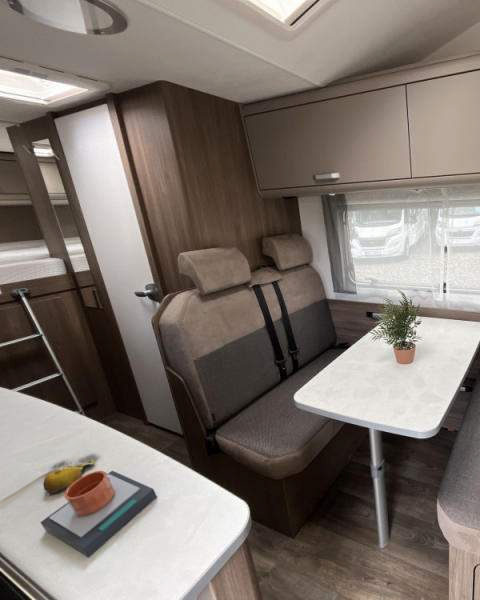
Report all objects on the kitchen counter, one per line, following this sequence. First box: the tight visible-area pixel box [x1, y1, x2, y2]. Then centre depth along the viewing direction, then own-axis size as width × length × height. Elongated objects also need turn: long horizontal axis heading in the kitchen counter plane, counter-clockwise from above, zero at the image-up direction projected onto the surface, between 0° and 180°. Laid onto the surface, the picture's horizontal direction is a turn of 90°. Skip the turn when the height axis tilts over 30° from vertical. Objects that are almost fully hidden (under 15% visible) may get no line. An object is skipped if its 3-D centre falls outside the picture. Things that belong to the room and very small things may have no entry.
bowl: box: [63, 470, 115, 516], centre depth 62 cm, size 6×6×5 cm
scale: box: [40, 470, 158, 558], centre depth 63 cm, size 14×12×3 cm
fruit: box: [42, 459, 96, 495], centre depth 71 cm, size 8×8×4 cm
